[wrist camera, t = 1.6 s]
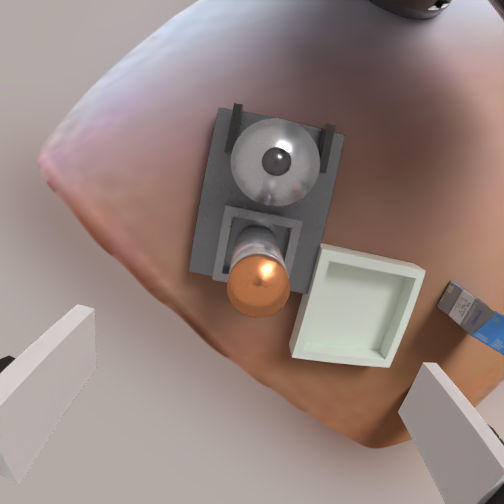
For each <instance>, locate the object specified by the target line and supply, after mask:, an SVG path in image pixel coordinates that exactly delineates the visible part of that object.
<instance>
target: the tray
mask: <svg viewBox="0 0 504 504" xmlns="http://www.w3.org/2000/svg"><path fill="white" fill-rule="evenodd" d="M425 272H426V271H425V270H424V269H422V268H420V267H419V266H417V265H416V264H414V263H410V262H406V261H402V260H397V259H393V258H388V257H384V256H379V255H375V254H370V253H365V252H361V251H356V250H352V249H347V248H342V247H338V246H333V245H328V244H323V243H321V245H320V249H319V253H318V257H317V261H316V265H315V268H314V272H313V276H312V280H311V284H310V287H309V291H308V294H304V293H303V295H302V299H301V302H300V306H299V310H298V313H297V317H296V320H295V324H294V328H293V331H292V335H291V338H290V341H289V347H290V352H291V357H292V358H298V359H306V360H314V361H323V362H331V363H341V364H351V365H362V366H375V367H390V365H391V363H392V360H393V358H394V356H395V354H396V351H397V349H398V346H399V344H400V342H401V339H402V337H403V334H404V332H405V329H406V327H407V324H408V321H409V319H410V316H411V313H412V311H413V308H414V305H415V302H416V300H417V297H418V294H419V291H420V288H421V285H422V282H423V279H424V276H425Z"/></svg>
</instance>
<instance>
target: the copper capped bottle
mask: <svg viewBox="0 0 504 504" xmlns="http://www.w3.org/2000/svg"><path fill="white" fill-rule="evenodd" d="M227 281H228V282H227V294H228V298H229V300H230V302H231V304H232V305H233V306H234V307H235V309H237V310H238V311H239V312H240V313H242V314H244V315H246V316H250V317H255V318H262V317H267V316H270V315H273V314H275V313H276V312H278V311H279V310H280V309H281V308H282V307H283V306H284V305H285V303H286V302H287V300H288V298H289V294H290V281H289V276H288V272H287V270H286V267H285V264H284V261H283V258H282V255H281V252H280V249H279V247H278V244H277V241H276V238H275V237H274V235H273V234H272V233H271V232H270V231H269V230H267V229H266V228H263V227H258V226H254V227H249V228H247V229H245V230H244V231H242V232H241V233H240V235H239V236H238V238H237V240H236V244H235V248H234V252H233V257H232V261H231V265H230V270H229V274H228V280H227Z"/></svg>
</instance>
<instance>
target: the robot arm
mask: <svg viewBox="0 0 504 504" xmlns="http://www.w3.org/2000/svg"><path fill="white" fill-rule="evenodd" d="M370 1H372V2H373V3H375V4H377V5H378V6H380V7H382V8H384V9H386V10H388V11H390V12H392V13H395V14H398V15H401V16H404V17H408V18H414V19H427V18H431V17H434V16H436V15H437V14H439V13H440V12H442V11H443V10H444V9H446V8H447V7H448V6H449V4H450V3H451V1H452V0H370ZM488 1H489V2H490V4H491V5H492V6H493V7H494V9H495V10H496V11H497V12H498V14H499V15H500V16H501V18H502V19H503V20H504V0H488ZM96 368H97V362H96V341H95V309H94V308H90V307H87V306H83V305H80V304H77V305H76V306H75V307H74V308H72V309H71V310H70V311H69V312H68V313H67V314H65V315H64V316H63V317H62V318H61V319H60V320H59V321H57V322H56V323H55V324H54V325H53V326H51V327H50V328H49V329H48V330H47V331H46V332H45V333H44V334H42V335H41V336H40V337H39V338H38V339H37V340H36V341H35V342H34V343H32V344H31V345H30V346H29V347H28V348H27V349H26V350H25V351H24V352H22V353H21V354H20V355H19V356H18V357H17V358H16V359H15V358H13V357H11V356H7V357H4V358H2V359H0V474H1V475H2V476H4V477H5V478H7V479H9V480H10V481H12V482H14V483H16V484H18V485H20V483H21V481H22V480H23V478H24V476H25V475H26V473H27V472H28V470H29V468H30V467H31V465H32V463H33V462H34V460H35V459H36V457H37V456H38V454H39V452H40V451H41V449H42V448H43V446H44V445H45V443H46V441H47V440H48V438H49V437H50V435H51V434H52V432H53V431H54V429H55V428H56V426H57V425H58V423H59V422H60V420H61V419H62V417H63V416H64V414H65V413H66V411H67V410H68V408H69V407H70V405H71V404H72V403H73V401H74V400H75V398H76V397H77V395H78V394H79V392H80V391H81V389H82V388H83V387H84V385H85V384H86V382H87V381H88V380H89V378H90V377H91V375H92V374H93V373H94V371H95V370H96ZM398 413H399V415H400V417H401V419H402V421H403V423H404V424H405V426H406V428H407V430H408V432H409V434H410V436H411V437H412V439H413V441H414V443H415V445H416V447H417V449H418V451H419V452H420V454H421V456H422V458H423V460H424V462H425V464H426V466H427V468H428V470H429V472H430V474H431V476H432V478H433V480H434V482H435V484H436V486H437V488H438V490H439V492H440V494H441V496H442V497H443V500H444V502H445V504H504V442H503V441H502V440H501V439H500V438H499V436H498V434H497V433H496V432H495V431H494V429H493V428H492V427H490V426H489V425H488V424H487V423H486V422H485V421H484V420H483V418H482V417H481V416H480V415H479V413H478V412H477V411H476V410H475V408H474V407H473V406H472V405H471V403H470V402H469V401H468V400H467V399H466V397H465V396H464V395H463V394H462V393H461V391H460V390H459V389H458V388H457V387H456V385H455V384H454V383H453V382H452V381H451V379H450V378H449V377H448V376H447V375H446V374H445V372H444V371H443V370H442V369H441V368H440V367H439V365H438V364H437V363H427V362H423V364H422V366H421V368H420V370H419V372H418V374H417V376H416V378H415V380H414V382H413V384H412V386H411V388H410V390H409V392H408V394H407V396H406V398H405V400H404V402H403V403H402V405H401V407H400V409H399V411H398Z"/></svg>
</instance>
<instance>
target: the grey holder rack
mask: <svg viewBox="0 0 504 504" xmlns="http://www.w3.org/2000/svg"><path fill="white" fill-rule="evenodd" d="M334 131H335V125H331V124H327V125H325V126H323V129H320V128H316V127H312V126H308V125H304V124H300V123H296V122H291V121H288V120H285V119H278V118H273V117H268V116H263V115H258V114H253V113H248V112H243V105H241V104H236V103H234V108H233V110H231V109H225V108H219V109H218V114H217V119H216V123H215V128H214V133H213V137H212V142H211V147H210V152H209V157H208V162H207V167H206V172H205V178H204V183H203V188H202V194H201V199H200V205H199V211H198V216H197V222H196V228H195V234H194V241H193V247H192V253H191V260H190V266H189V272H193V273H198V274H203V275H208V276H213V277H212V280H216V281H221V282H226V283H227V282H228V281H227V280H228V274H229V270H230V265H231V261H232V257H233V252H234V248H235V244H236V240H237V238H238V236H239V235H240V233H241V232H242V231H244V230H245V229H247V228H249V227H254V226H258V227H263V228H266V229H267V230H269V231H270V232H271V233H272V234H273V235H274V237H275V238H276V241H277V244H278V247H279V249H280V252H281V255H282V258H283V261H284V264H285V267H286V270H287V272H288V276H289V281H290V291H293V292H298V293H304V294H308V291H309V287H310V284H311V280H312V276H313V272H314V268H315V265H316V261H317V257H318V253H319V249H320V245H321V241H322V237H323V233H324V228H325V224H326V220H327V216H328V211H329V207H330V203H331V198H332V194H333V189H334V185H335V180H336V175H337V171H338V166H339V161H340V156H341V151H342V146H343V141H344V136H345V135H342V134H339V133H335V132H334Z"/></svg>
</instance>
